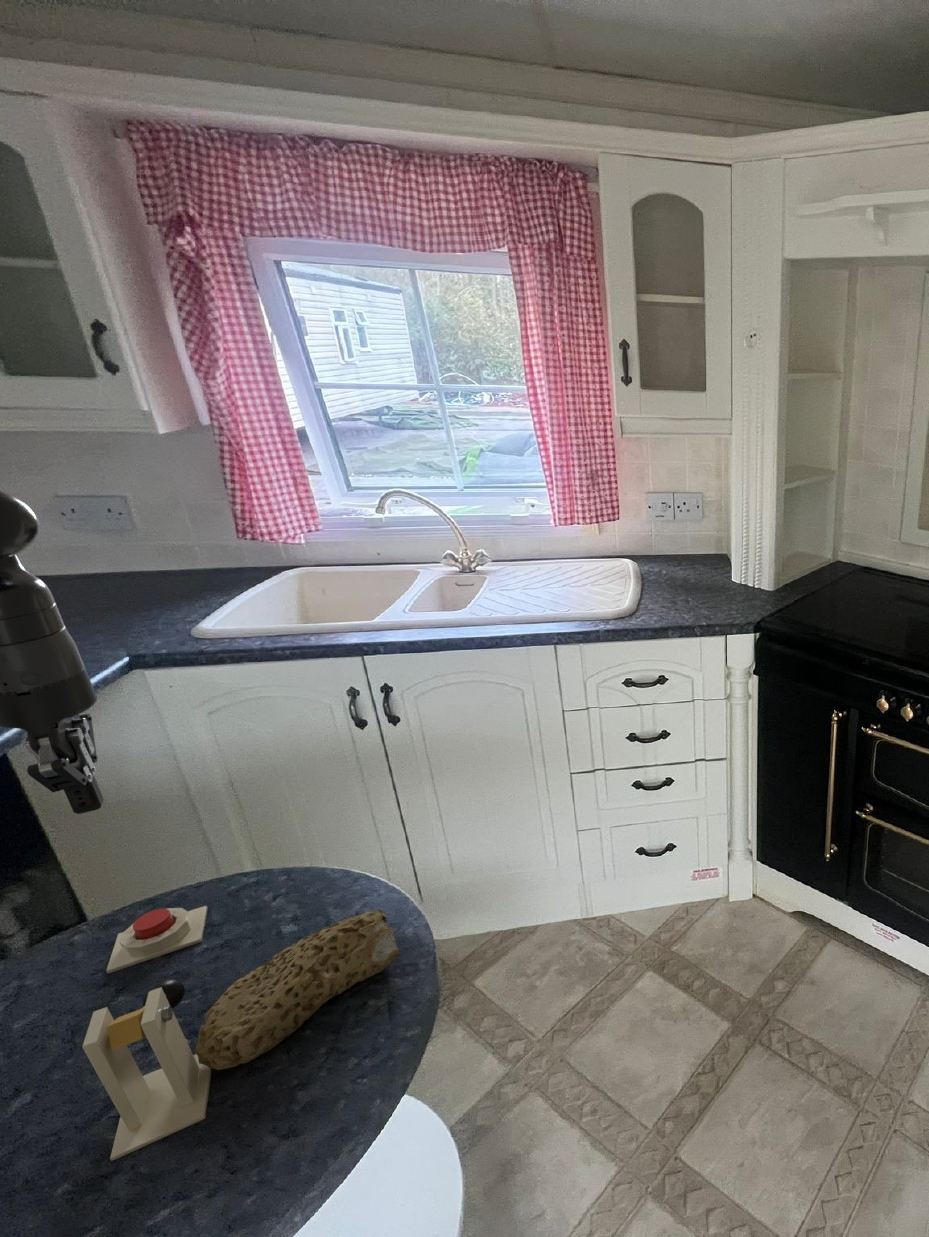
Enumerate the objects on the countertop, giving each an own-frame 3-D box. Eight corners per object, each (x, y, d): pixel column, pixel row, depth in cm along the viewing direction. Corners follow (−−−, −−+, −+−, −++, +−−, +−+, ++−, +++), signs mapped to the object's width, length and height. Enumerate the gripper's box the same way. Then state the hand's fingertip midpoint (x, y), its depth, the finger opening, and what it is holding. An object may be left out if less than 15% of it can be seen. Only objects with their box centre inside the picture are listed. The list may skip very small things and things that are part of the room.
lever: (151, 1014, 76) (145, 985, 76) (191, 999, 77) (185, 970, 78) (103, 1059, 64) (96, 1024, 64) (151, 1040, 66) (145, 1006, 66)
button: (134, 944, 86) (129, 934, 85) (139, 925, 88) (135, 916, 88) (172, 932, 88) (167, 922, 87) (176, 914, 90) (172, 904, 90)
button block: (109, 978, 84) (100, 961, 83) (121, 940, 89) (113, 924, 88) (203, 946, 89) (196, 929, 88) (209, 912, 94) (203, 896, 93)
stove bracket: (132, 1088, 72) (84, 999, 67) (216, 1053, 76) (178, 966, 71) (113, 1166, 65) (59, 1073, 60) (207, 1123, 69) (163, 1032, 64)
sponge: (378, 933, 93) (183, 1002, 78) (383, 892, 91) (182, 955, 76) (408, 1006, 86) (199, 1098, 71) (415, 963, 83) (199, 1049, 68)
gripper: (-1, 658, 72) (58, 789, 79) (-48, 708, 63) (23, 854, 69) (96, 644, 77) (145, 770, 83) (66, 689, 67) (124, 828, 73)
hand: (90, 808), depth 76 cm, fingers closed
